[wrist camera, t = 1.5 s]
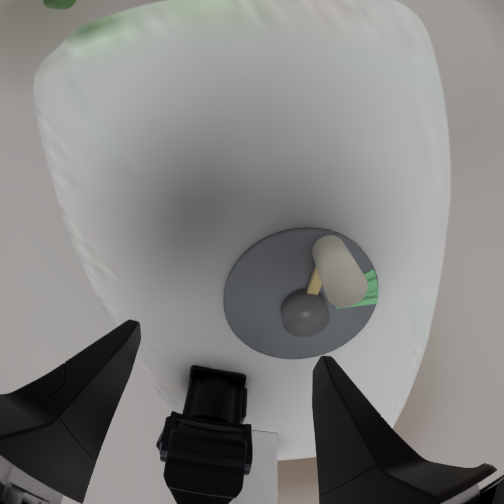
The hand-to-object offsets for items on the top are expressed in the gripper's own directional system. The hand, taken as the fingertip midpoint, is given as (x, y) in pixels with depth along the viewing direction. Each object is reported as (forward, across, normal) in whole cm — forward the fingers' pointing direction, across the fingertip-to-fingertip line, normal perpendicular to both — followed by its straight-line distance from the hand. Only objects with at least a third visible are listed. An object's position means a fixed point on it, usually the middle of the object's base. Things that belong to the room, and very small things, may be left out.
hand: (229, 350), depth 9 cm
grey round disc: (+13, -6, +6) cm, 16 cm away
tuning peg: (+12, -6, +3) cm, 14 cm away
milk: (+13, -8, +36) cm, 39 cm away
